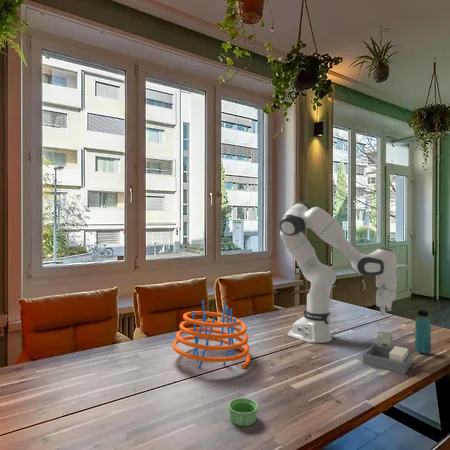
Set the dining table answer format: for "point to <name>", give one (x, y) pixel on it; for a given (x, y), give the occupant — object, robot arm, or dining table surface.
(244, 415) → the ramekin
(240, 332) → the orange spiral coil rods
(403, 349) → the cream rectangular block
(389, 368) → the tote
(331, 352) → the dining table surface
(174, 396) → the dining table surface
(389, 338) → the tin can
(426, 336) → the beverage bottle
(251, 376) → the dining table surface
